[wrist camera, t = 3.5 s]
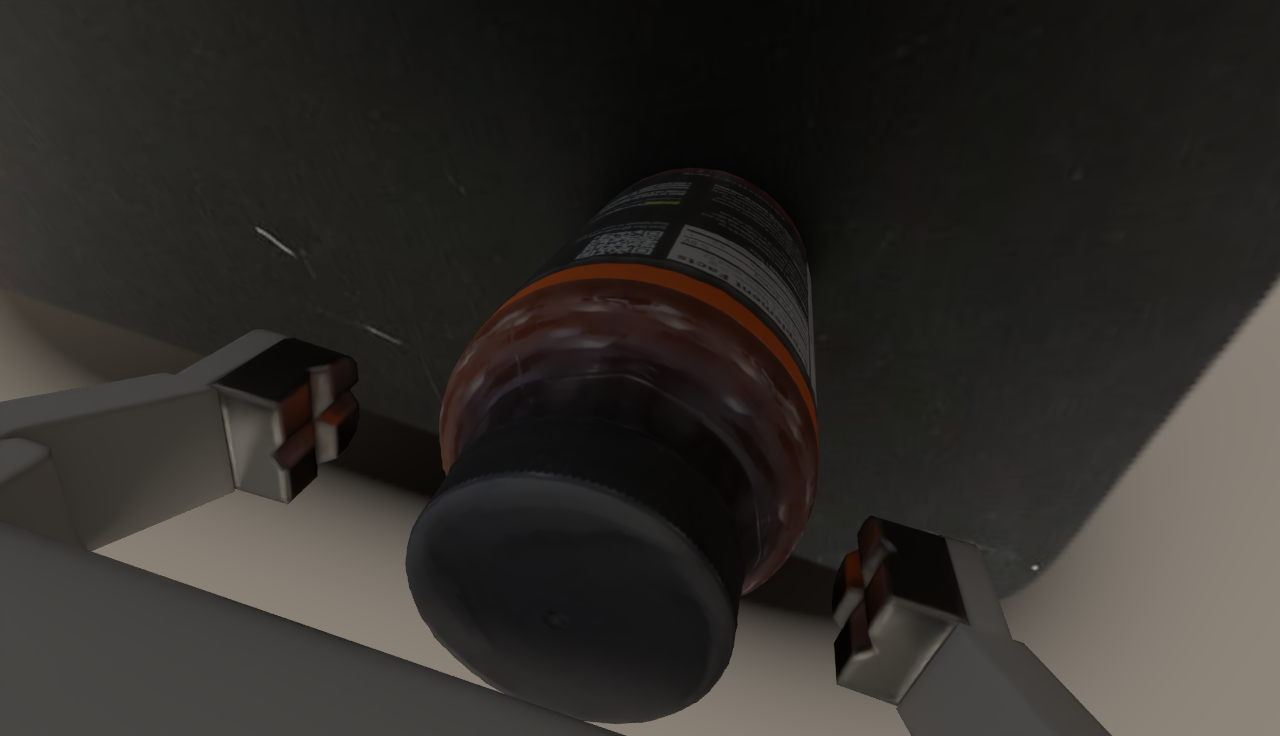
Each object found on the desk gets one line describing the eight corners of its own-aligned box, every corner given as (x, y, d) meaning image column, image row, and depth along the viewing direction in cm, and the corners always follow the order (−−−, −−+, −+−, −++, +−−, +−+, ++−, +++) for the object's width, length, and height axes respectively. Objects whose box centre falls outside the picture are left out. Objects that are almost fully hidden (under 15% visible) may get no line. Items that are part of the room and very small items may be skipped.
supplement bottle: (675, 406, 19) (540, 809, 9) (546, 248, 17) (228, 535, 8) (858, 305, 16) (932, 727, 7) (725, 107, 15) (570, 283, 5)
